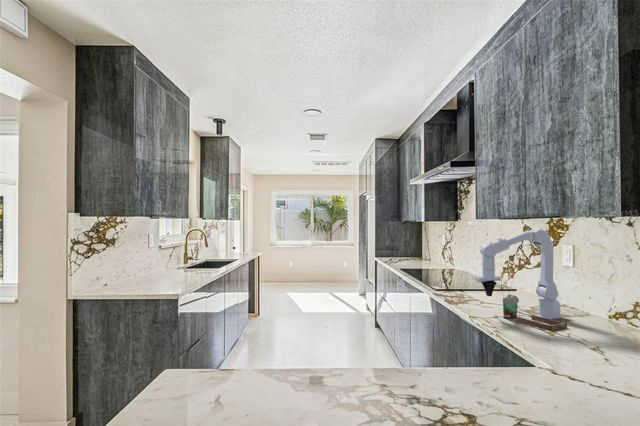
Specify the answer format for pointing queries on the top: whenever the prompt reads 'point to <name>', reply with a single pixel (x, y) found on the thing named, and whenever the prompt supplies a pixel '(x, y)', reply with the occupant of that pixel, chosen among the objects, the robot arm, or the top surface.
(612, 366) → the top surface
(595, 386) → the top surface
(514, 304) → the food container
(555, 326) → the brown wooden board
